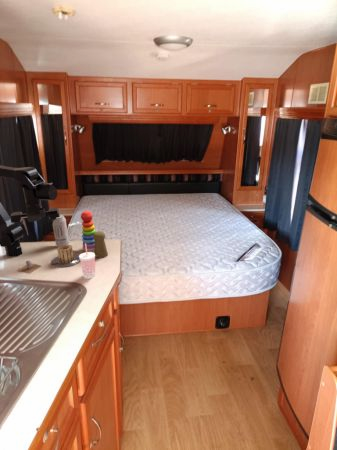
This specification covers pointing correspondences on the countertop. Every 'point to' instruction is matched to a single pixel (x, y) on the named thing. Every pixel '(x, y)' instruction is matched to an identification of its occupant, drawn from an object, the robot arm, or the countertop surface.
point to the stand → (29, 267)
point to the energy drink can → (60, 231)
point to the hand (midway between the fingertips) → (39, 233)
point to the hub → (57, 264)
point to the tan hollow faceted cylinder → (65, 254)
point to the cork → (100, 245)
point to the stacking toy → (88, 231)
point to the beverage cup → (88, 263)
